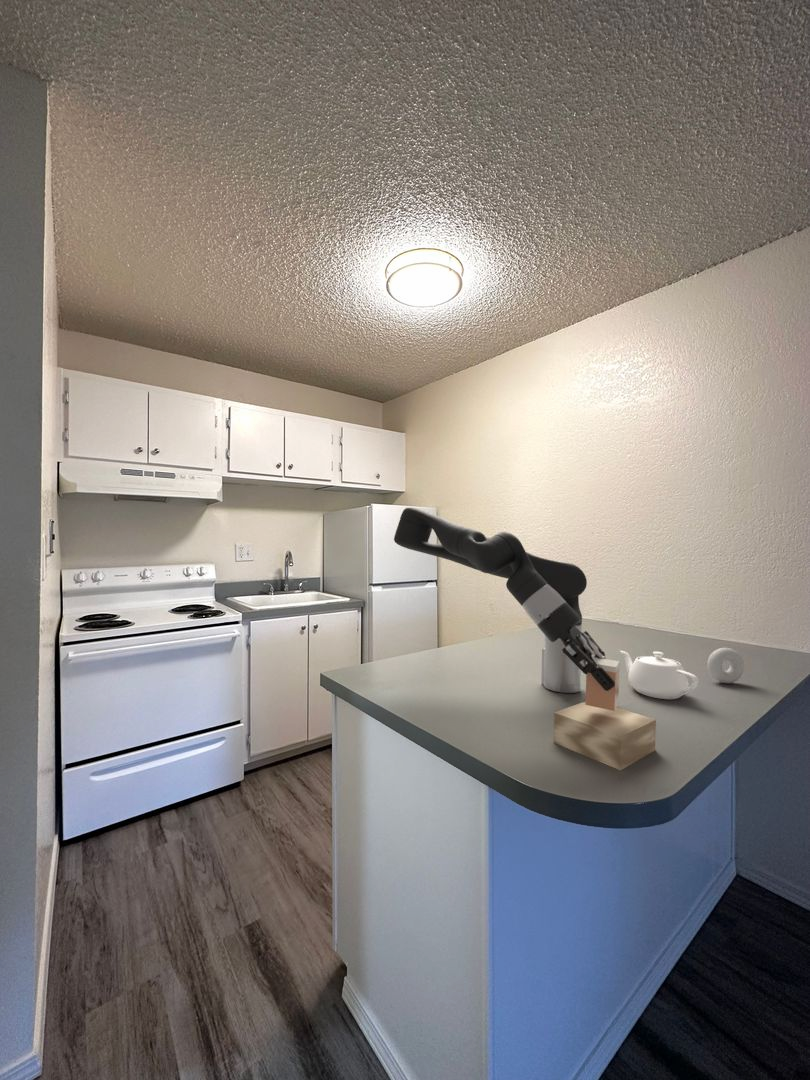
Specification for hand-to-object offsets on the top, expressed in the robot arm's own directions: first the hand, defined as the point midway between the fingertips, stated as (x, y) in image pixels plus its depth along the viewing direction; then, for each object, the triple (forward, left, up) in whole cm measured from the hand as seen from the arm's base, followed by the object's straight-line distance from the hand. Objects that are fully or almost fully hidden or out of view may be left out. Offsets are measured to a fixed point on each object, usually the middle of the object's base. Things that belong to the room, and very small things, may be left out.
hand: (613, 683), depth 84 cm
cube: (-2, -1, -4) cm, 5 cm away
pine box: (-1, -1, -12) cm, 13 cm away
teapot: (-20, +37, -12) cm, 44 cm away
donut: (-19, +64, -12) cm, 68 cm away
